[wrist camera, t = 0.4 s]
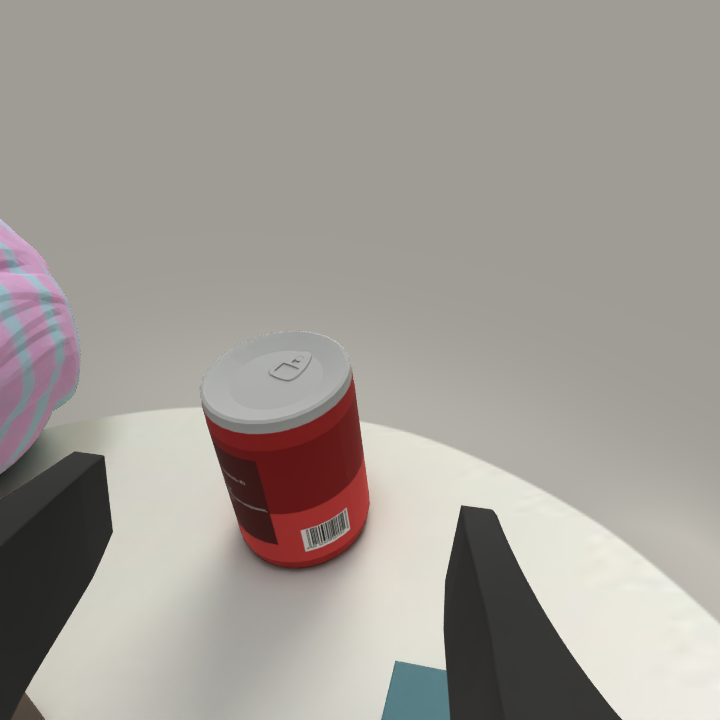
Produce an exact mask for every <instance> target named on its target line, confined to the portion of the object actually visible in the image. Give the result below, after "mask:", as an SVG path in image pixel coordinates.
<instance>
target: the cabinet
mask: <svg viewBox="0 0 720 720" xmlns="http://www.w3.org/2000/svg"><path fill="white" fill-rule="evenodd" d="M11 720H45V719H44V717H43V716H42V714H41V713H40V712H39V710H38V709H37V708H36V706H35V705H34V704H33V702H32V701H31V700H30V698H29V697H28V695H27V694H26V693H24V694H23V696H22V698H21V700H20V702H19V704H18V706H17V708H16V710H15V713H14V715H13V717H12V719H11Z"/></svg>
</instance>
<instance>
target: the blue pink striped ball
mask: <svg viewBox="0 0 720 720" xmlns="http://www.w3.org/2000/svg"><path fill="white" fill-rule="evenodd" d="M79 372H80V343H79V336H78V331H77V328H76V324H75V321H74V318H73V315H72V311H71V307H70V304H69V302H68V300H67V299H66V297H65V295H64V293H63V292H62V290H61V289H60V287H59V285H58V284H57V282H56V281H55V280H54V279H53V278H52V275H51V273H50V271H49V268H48V266H47V264H46V262H45V261H44V259H43V258H42V257H41V255H40V254H39V253H38V252H37V251H36V250H35V249H34V248H33V247H32V246H31V245H29V244H28V243H27V242H26V241H24V240H23V239H22V238H20V237H19V236H18V235H17V234H16V233H15V232H14V231H13V230H12V229H11V228H10V227H9V226H8V225H7V224H5V222H3V221H2V220H1V219H0V474H1V473H2V472H4V471H5V470H6V469H8V468H9V467H10V466H11V465H13V464H14V463H15V462H16V461H17V460H18V459H19V458H20V457H21V456H22V455H23V454H24V453H25V452H26V451H27V450H28V449H29V448H30V447H31V446H32V444H33V443H34V442H35V440H36V439H37V438H38V436H39V435H40V433H41V432H42V430H43V429H44V427H45V425H46V423H47V422H48V420H49V418H50V416H51V414H52V411H54V410H55V409H57V408H59V407H60V406H62V405H63V404H65V403H66V402H67V401H68V400H69V399H70V398H71V397H72V396H73V395H74V393H75V391H76V388H77V384H78V379H79Z"/></svg>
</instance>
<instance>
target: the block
mask: <svg viewBox="0 0 720 720" xmlns="http://www.w3.org/2000/svg"><path fill="white" fill-rule="evenodd" d="M381 720H450V710H449V697H448V683H447V671H446V670H441V669H435V668H430V667H425V666H420V665H415V664H410V663H404V662H399V661H395V665H394V669H393V673H392V677H391V682H390V686H389V690H388V694H387V698H386V703H385V707H384V711H383V715H382V719H381Z"/></svg>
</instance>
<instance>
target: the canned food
mask: <svg viewBox="0 0 720 720" xmlns="http://www.w3.org/2000/svg"><path fill="white" fill-rule="evenodd" d="M200 397H201V401H202V408H203V411H204V415H205V418H206V423H207V426H208V429H209V432H210V435H211V438H212V442H213V445H214V448H215V451H216V454H217V457H218V460H219V464H220V467H221V470H222V473H223V476H224V479H225V483H226V486H227V489H228V492H229V495H230V498H231V502H232V505H233V508H234V511H235V514H236V517H237V521H238V524H239V527H240V530H241V533H242V535H243V538H244V540H245V541H246V543H247V544H248V545H249V546H250V548H251V549H252V550H253V551H254V552H255V553H256V554H257V555H258V556H259V557H261V558H262V559H263V560H265V561H267V562H269V563H271V564H274V565H277V566H281V567H286V568H302V567H310V566H314V565H317V564H321V563H324V562H326V561H328V560H330V559H332V558H334V557H336V556H338V555H339V554H341V553H342V552H343V551H345V550H346V549H347V548H348V547H349V546H350V545H351V544H352V543H353V542H354V541H355V540H356V539H357V537H358V536H359V534H360V533H361V531H362V529H363V526H364V524H365V521H366V518H367V514H368V509H369V504H370V503H369V491H368V484H367V476H366V468H365V461H364V453H363V446H362V438H361V430H360V423H359V416H358V408H357V400H356V393H355V385H354V380H353V374H352V367H351V365H350V361H349V357H348V355H347V353H346V351H345V349H344V348H343V347H342V346H341V345H340V344H339V343H338V342H336V341H335V340H333V339H331V338H329V337H327V336H324V335H321V334H317V333H313V332H305V331H284V332H277V333H271V334H267V335H262V336H259V337H256V338H253V339H250V340H247V341H245V342H243V343H241V344H239V345H237V346H235V347H233V348H231V349H230V350H228V351H227V352H225V353H224V354H222V355H221V356H220V357H219V358H218V359H217V360H215V361H214V362H213V364H212V365H211V366H210V367H209V368H208V369H207V371H206V373H205V374H204V376H203V378H202V381H201V385H200Z"/></svg>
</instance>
